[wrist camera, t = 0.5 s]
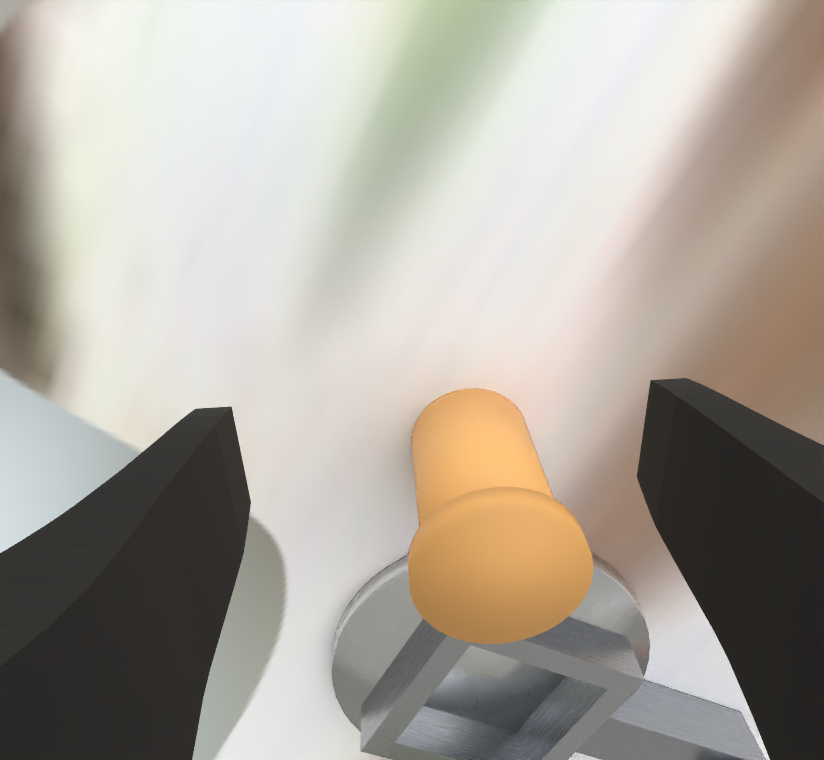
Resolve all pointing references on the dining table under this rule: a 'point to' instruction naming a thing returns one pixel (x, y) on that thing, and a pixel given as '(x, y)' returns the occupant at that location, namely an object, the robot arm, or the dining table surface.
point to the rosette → (519, 686)
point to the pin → (489, 526)
